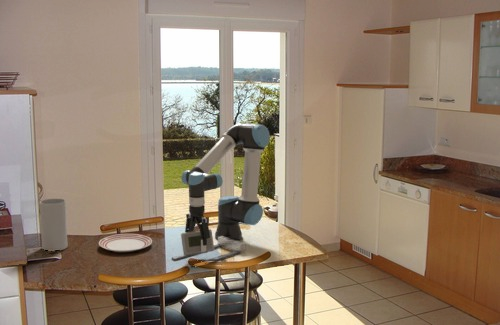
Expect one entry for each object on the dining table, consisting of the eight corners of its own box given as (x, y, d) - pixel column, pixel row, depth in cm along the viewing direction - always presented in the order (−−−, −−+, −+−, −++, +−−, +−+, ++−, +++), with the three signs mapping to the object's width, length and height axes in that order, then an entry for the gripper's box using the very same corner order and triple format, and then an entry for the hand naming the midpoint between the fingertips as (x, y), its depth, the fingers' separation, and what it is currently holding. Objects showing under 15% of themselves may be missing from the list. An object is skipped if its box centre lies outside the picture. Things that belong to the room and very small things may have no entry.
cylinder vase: (71, 248, 289) (69, 201, 285) (46, 253, 281) (44, 205, 277) (62, 243, 299) (60, 197, 295) (38, 247, 291) (36, 200, 287)
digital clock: (182, 256, 269) (182, 235, 267) (180, 250, 278) (179, 230, 276) (215, 253, 273) (215, 233, 271) (212, 248, 282) (212, 227, 280)
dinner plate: (162, 247, 295) (162, 240, 295) (119, 259, 275) (119, 252, 275) (131, 236, 313) (131, 230, 313) (88, 247, 293) (88, 241, 293)
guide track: (171, 259, 275) (171, 249, 275) (222, 244, 300) (222, 235, 299) (194, 268, 264) (194, 258, 263) (244, 252, 288) (244, 242, 287)
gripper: (177, 202, 276) (178, 246, 280) (205, 210, 262) (206, 256, 266) (188, 199, 281) (189, 242, 285) (217, 207, 267) (217, 252, 271)
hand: (197, 249), depth 276 cm, fingers closed on digital clock, 8 cm apart
